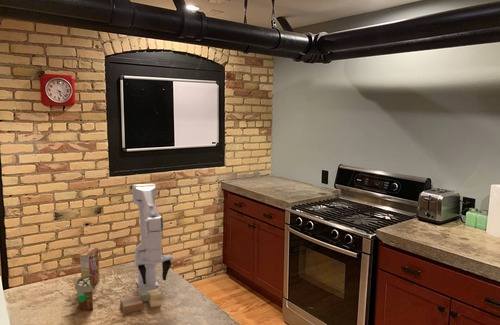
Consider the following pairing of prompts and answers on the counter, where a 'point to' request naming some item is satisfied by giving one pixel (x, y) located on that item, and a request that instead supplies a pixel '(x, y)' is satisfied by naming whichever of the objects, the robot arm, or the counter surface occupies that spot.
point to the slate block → (145, 292)
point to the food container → (85, 292)
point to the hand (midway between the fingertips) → (154, 281)
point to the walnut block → (131, 304)
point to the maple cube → (154, 298)
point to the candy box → (90, 264)
